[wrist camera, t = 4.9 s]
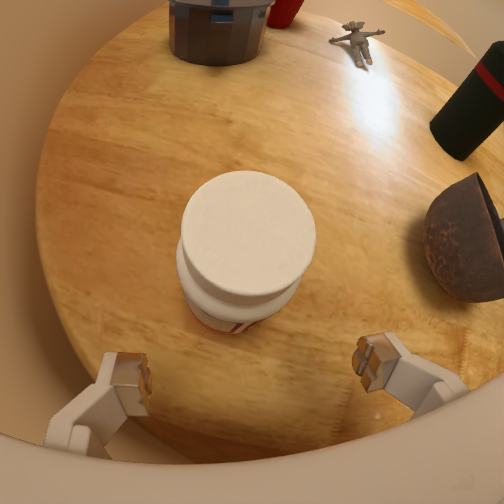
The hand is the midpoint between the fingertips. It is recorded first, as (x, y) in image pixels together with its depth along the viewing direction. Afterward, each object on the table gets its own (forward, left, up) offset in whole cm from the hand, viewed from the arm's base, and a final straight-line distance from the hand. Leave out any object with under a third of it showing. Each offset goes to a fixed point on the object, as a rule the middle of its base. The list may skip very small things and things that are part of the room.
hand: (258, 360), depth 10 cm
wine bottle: (+35, +25, -10) cm, 44 cm away
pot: (0, +39, -10) cm, 40 cm away
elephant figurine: (+23, +42, -10) cm, 49 cm away
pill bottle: (0, +5, -10) cm, 11 cm away
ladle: (+35, +9, -10) cm, 38 cm away
